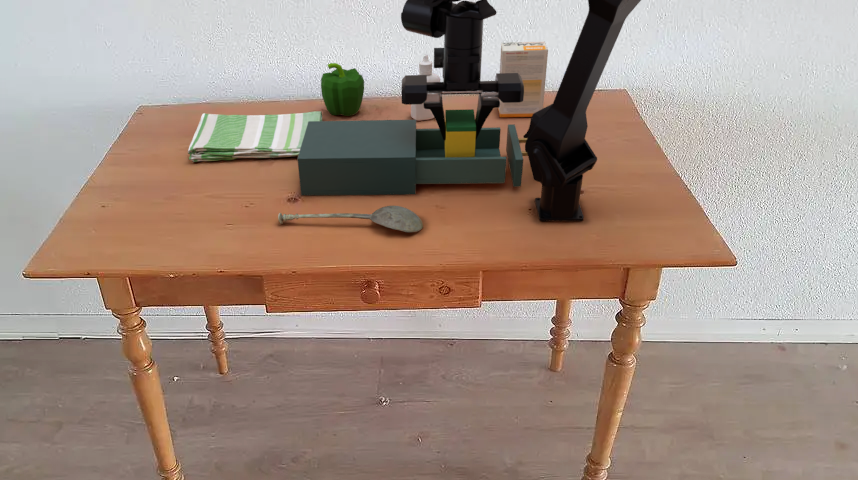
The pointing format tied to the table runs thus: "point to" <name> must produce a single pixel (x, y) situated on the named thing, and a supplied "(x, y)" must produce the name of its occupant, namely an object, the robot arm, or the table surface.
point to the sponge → (460, 133)
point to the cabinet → (358, 158)
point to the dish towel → (249, 136)
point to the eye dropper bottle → (426, 69)
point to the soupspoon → (374, 218)
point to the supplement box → (525, 76)
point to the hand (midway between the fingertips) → (459, 139)
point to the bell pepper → (342, 90)
